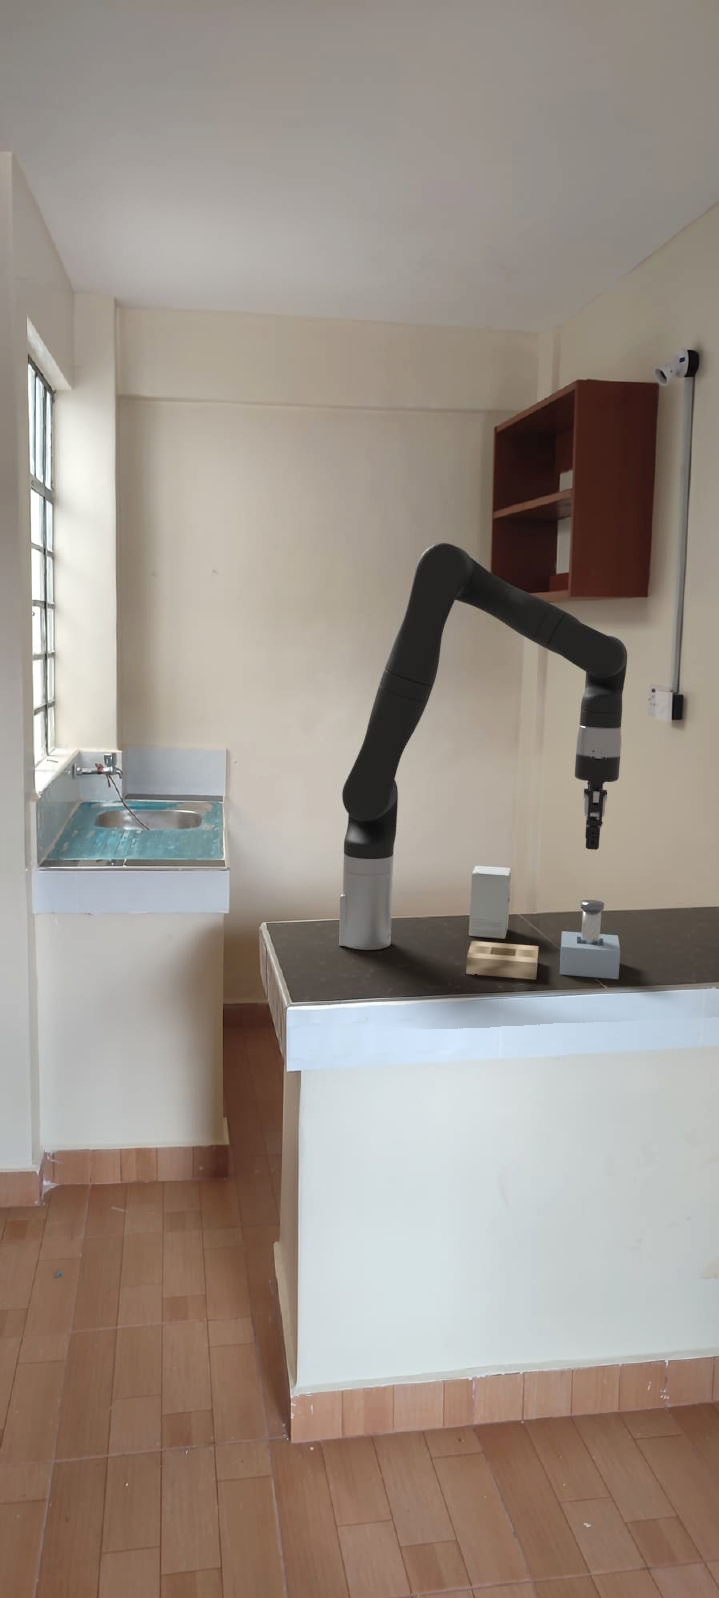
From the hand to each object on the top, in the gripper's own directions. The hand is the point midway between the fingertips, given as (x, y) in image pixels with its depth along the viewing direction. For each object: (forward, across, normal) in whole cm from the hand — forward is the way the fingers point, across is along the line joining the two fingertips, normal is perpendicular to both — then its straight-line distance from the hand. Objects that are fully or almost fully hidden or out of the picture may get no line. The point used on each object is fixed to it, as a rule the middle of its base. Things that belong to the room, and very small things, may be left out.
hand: (591, 844), depth 199 cm
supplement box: (+23, -18, -18) cm, 34 cm away
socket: (+22, 0, +1) cm, 22 cm away
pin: (+22, 0, +1) cm, 22 cm away
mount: (+22, +4, -14) cm, 27 cm away
